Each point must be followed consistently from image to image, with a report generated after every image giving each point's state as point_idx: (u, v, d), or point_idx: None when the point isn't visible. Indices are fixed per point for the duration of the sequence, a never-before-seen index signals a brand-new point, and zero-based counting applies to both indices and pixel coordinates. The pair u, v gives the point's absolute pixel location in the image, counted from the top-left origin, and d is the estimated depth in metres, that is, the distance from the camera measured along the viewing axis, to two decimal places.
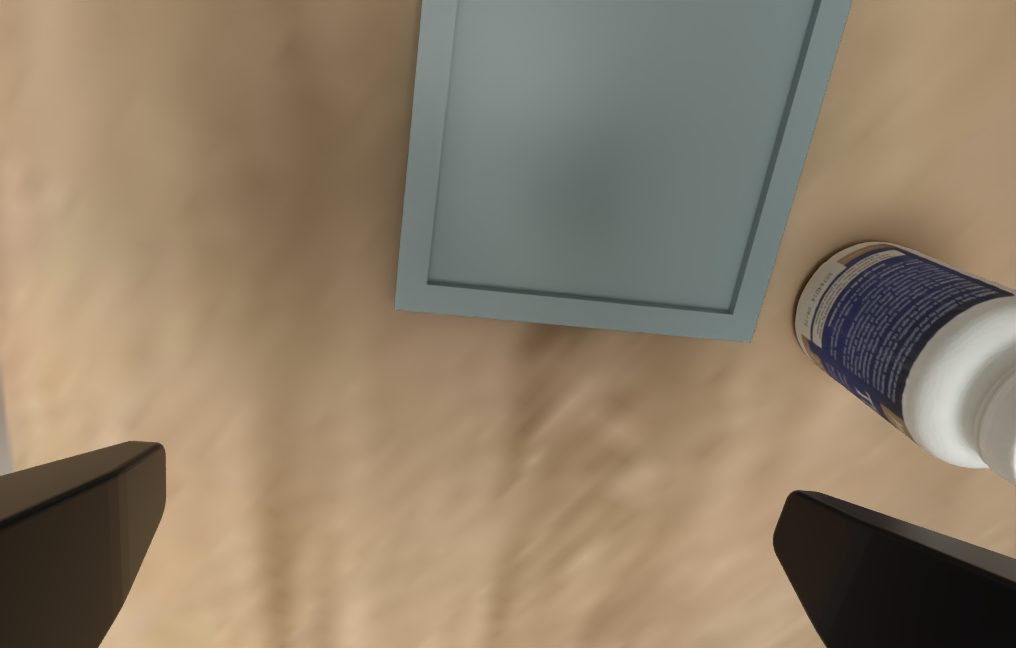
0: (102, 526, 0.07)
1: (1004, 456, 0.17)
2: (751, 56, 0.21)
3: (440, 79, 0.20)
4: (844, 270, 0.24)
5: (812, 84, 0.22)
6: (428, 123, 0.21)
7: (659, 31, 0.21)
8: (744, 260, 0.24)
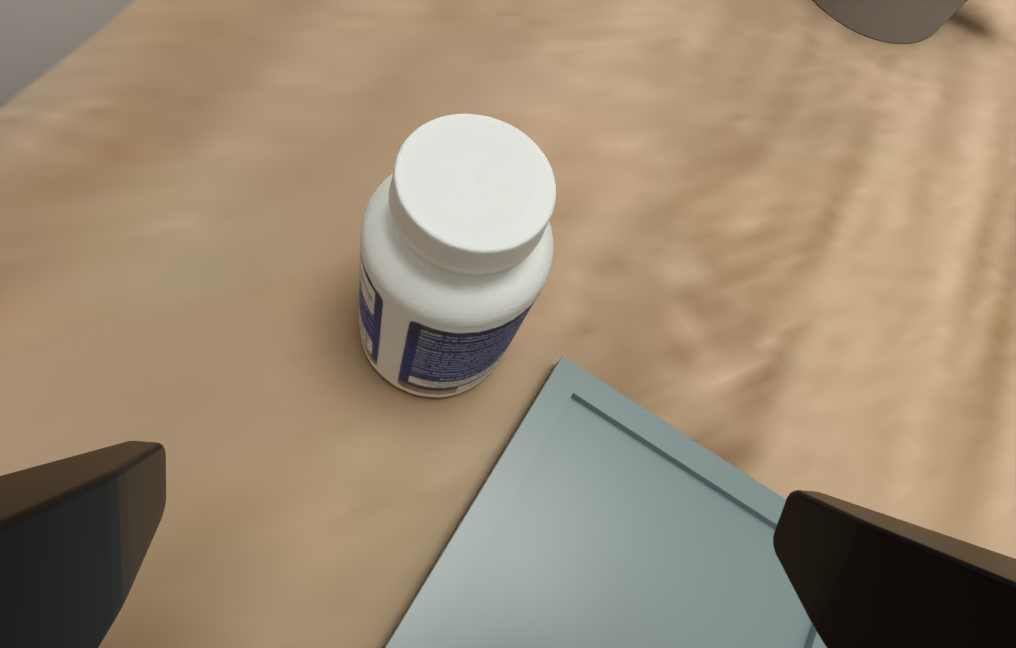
0: (102, 526, 0.07)
1: (553, 202, 0.17)
2: (485, 645, 0.21)
3: None
4: (462, 385, 0.23)
5: (439, 591, 0.21)
6: None
7: None
8: (544, 440, 0.23)
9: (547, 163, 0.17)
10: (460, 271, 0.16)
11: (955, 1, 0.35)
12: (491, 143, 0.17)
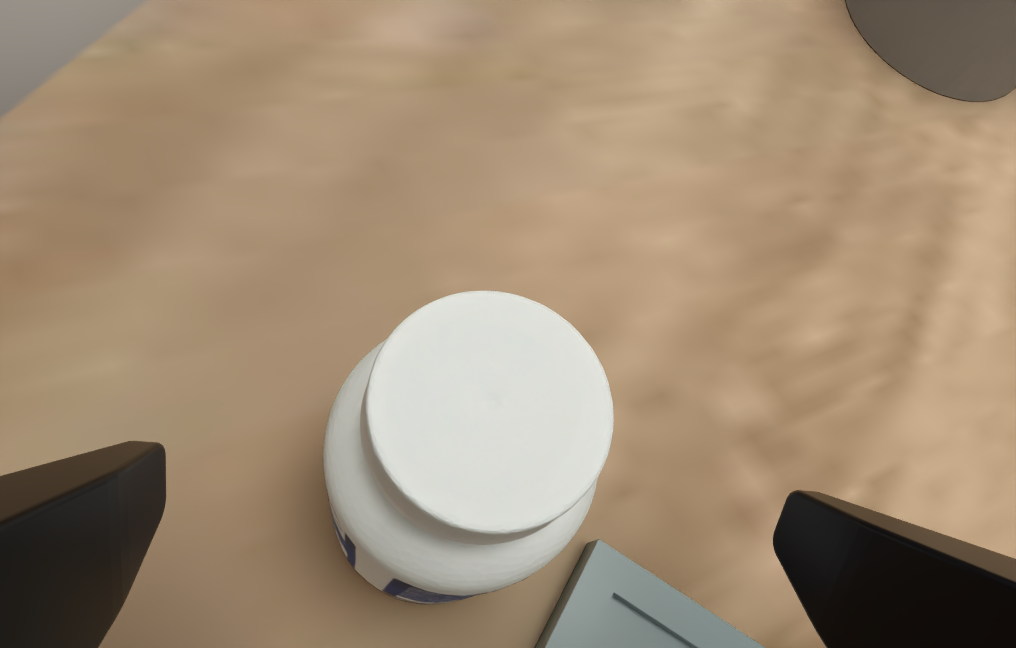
0: (102, 526, 0.07)
1: (609, 426, 0.11)
2: None
3: None
4: None
5: None
6: None
7: None
8: None
9: (599, 366, 0.11)
10: (469, 542, 0.11)
11: None
12: (515, 339, 0.11)
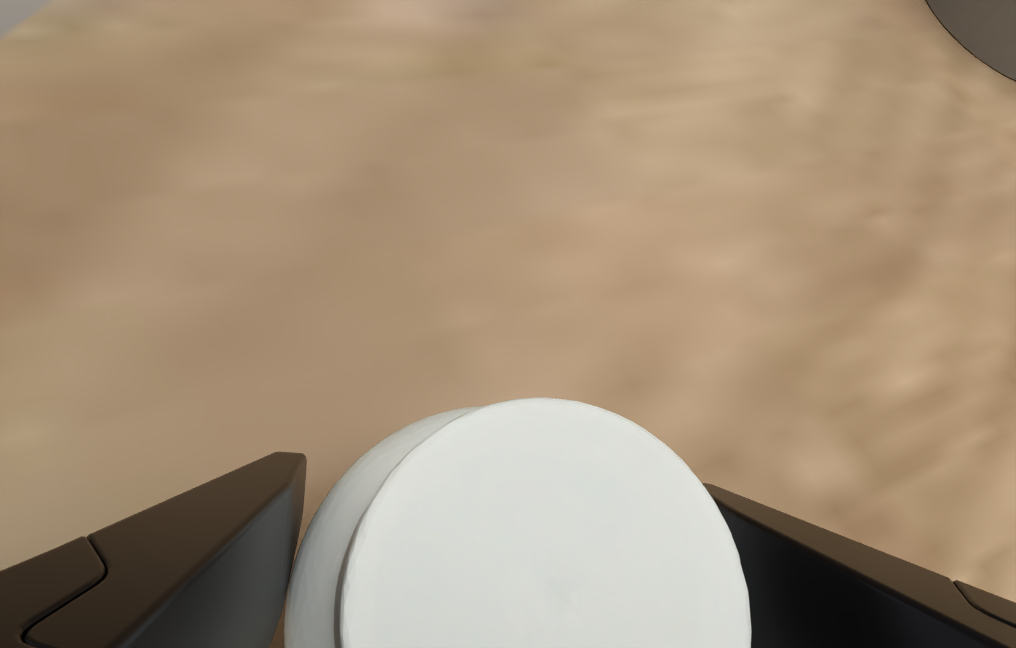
0: (279, 535, 0.07)
1: (738, 623, 0.07)
2: None
3: None
4: None
5: None
6: None
7: None
8: None
9: (722, 524, 0.07)
10: None
11: None
12: (587, 483, 0.07)
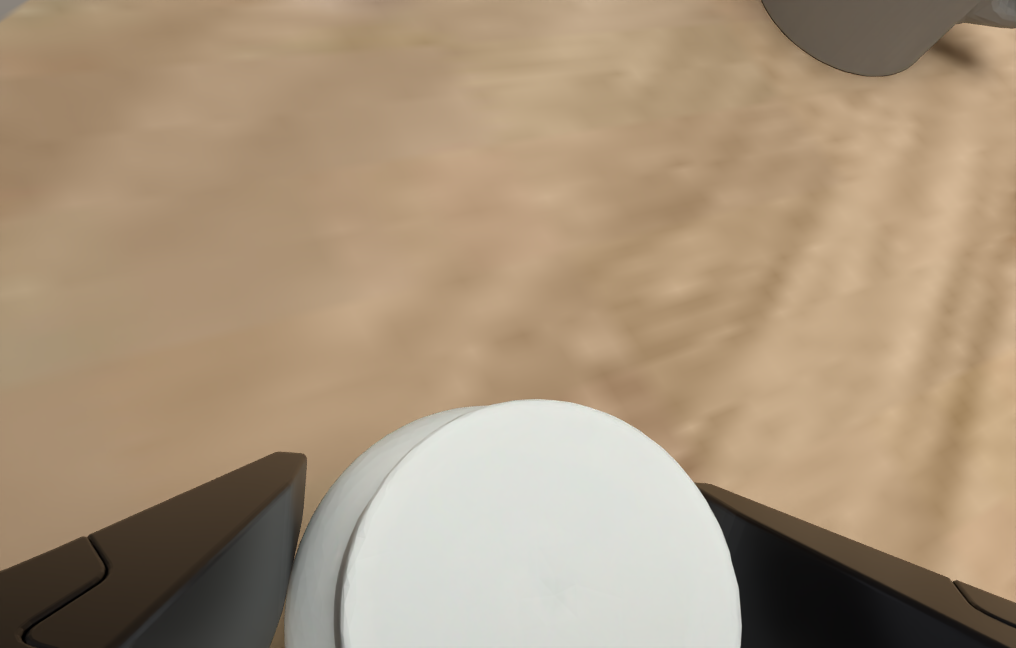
0: (279, 536, 0.07)
1: (730, 619, 0.07)
2: None
3: None
4: None
5: None
6: None
7: None
8: None
9: (713, 522, 0.07)
10: None
11: (933, 33, 0.31)
12: (581, 482, 0.07)
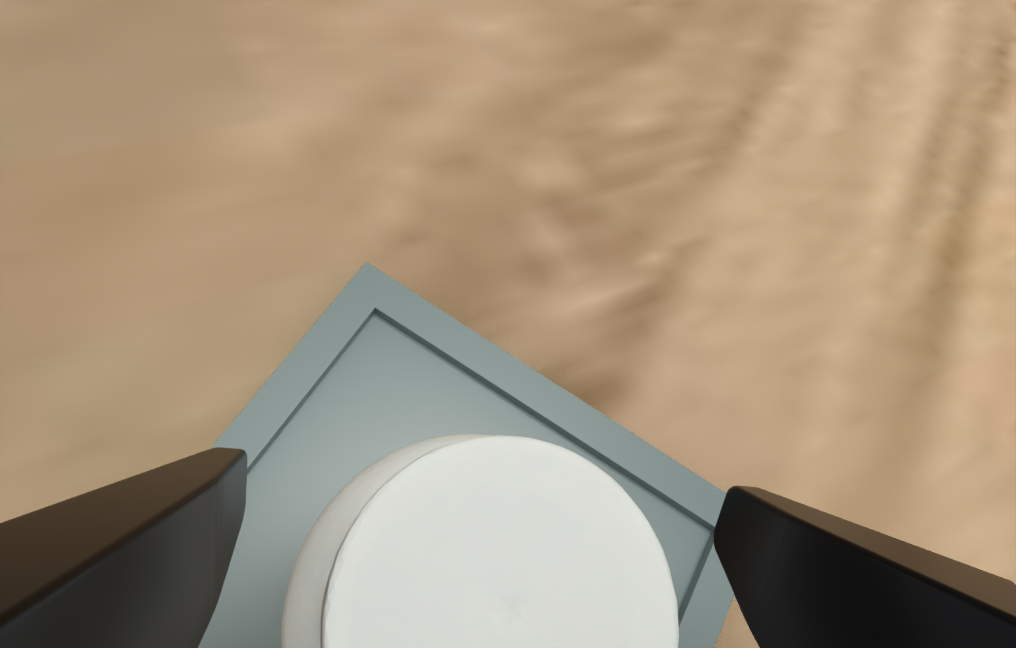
0: (205, 531, 0.07)
1: (671, 628, 0.08)
2: (210, 635, 0.15)
3: None
4: None
5: None
6: None
7: None
8: (331, 366, 0.18)
9: (655, 543, 0.08)
10: None
11: None
12: (536, 510, 0.08)
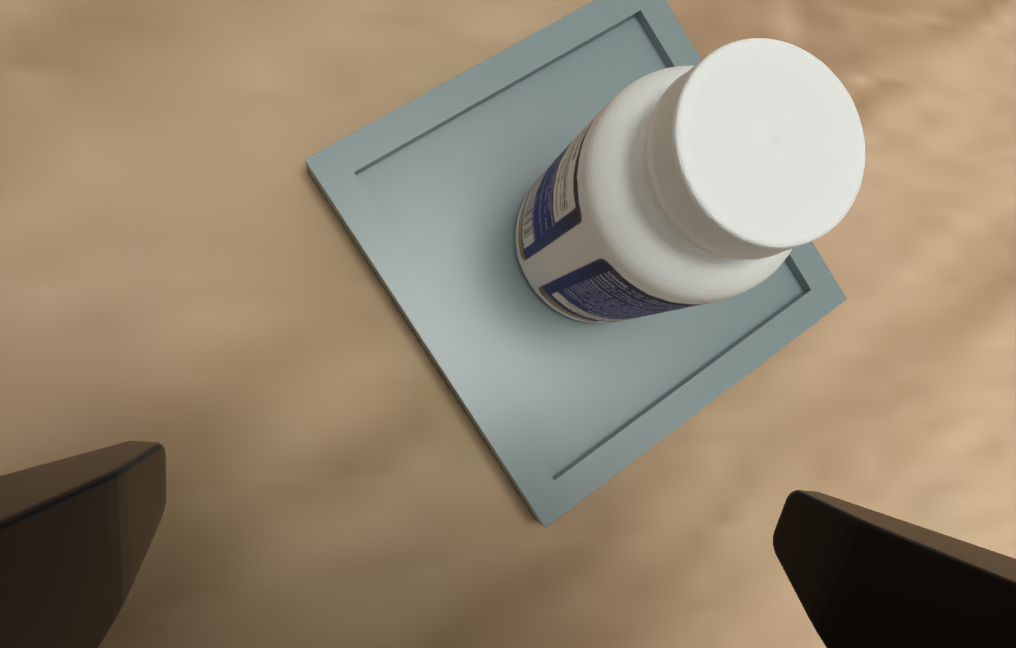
0: (102, 526, 0.07)
1: (846, 203, 0.13)
2: (451, 180, 0.21)
3: (672, 403, 0.22)
4: (604, 320, 0.20)
5: (430, 109, 0.21)
6: (706, 386, 0.22)
7: (500, 271, 0.21)
8: (591, 40, 0.22)
9: (863, 152, 0.13)
10: (698, 242, 0.13)
11: None
12: (809, 99, 0.13)
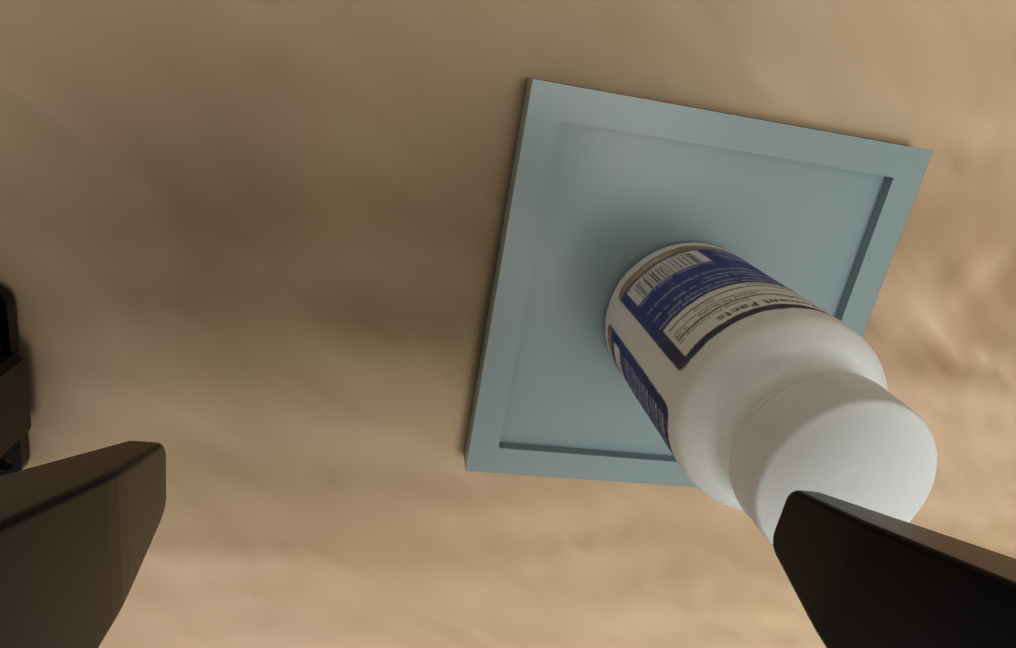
0: (102, 526, 0.07)
1: None
2: (625, 186, 0.21)
3: (621, 464, 0.24)
4: None
5: (662, 121, 0.20)
6: (654, 471, 0.25)
7: (596, 282, 0.22)
8: (833, 167, 0.21)
9: None
10: (733, 487, 0.15)
11: None
12: (900, 478, 0.14)
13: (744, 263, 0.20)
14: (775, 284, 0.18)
